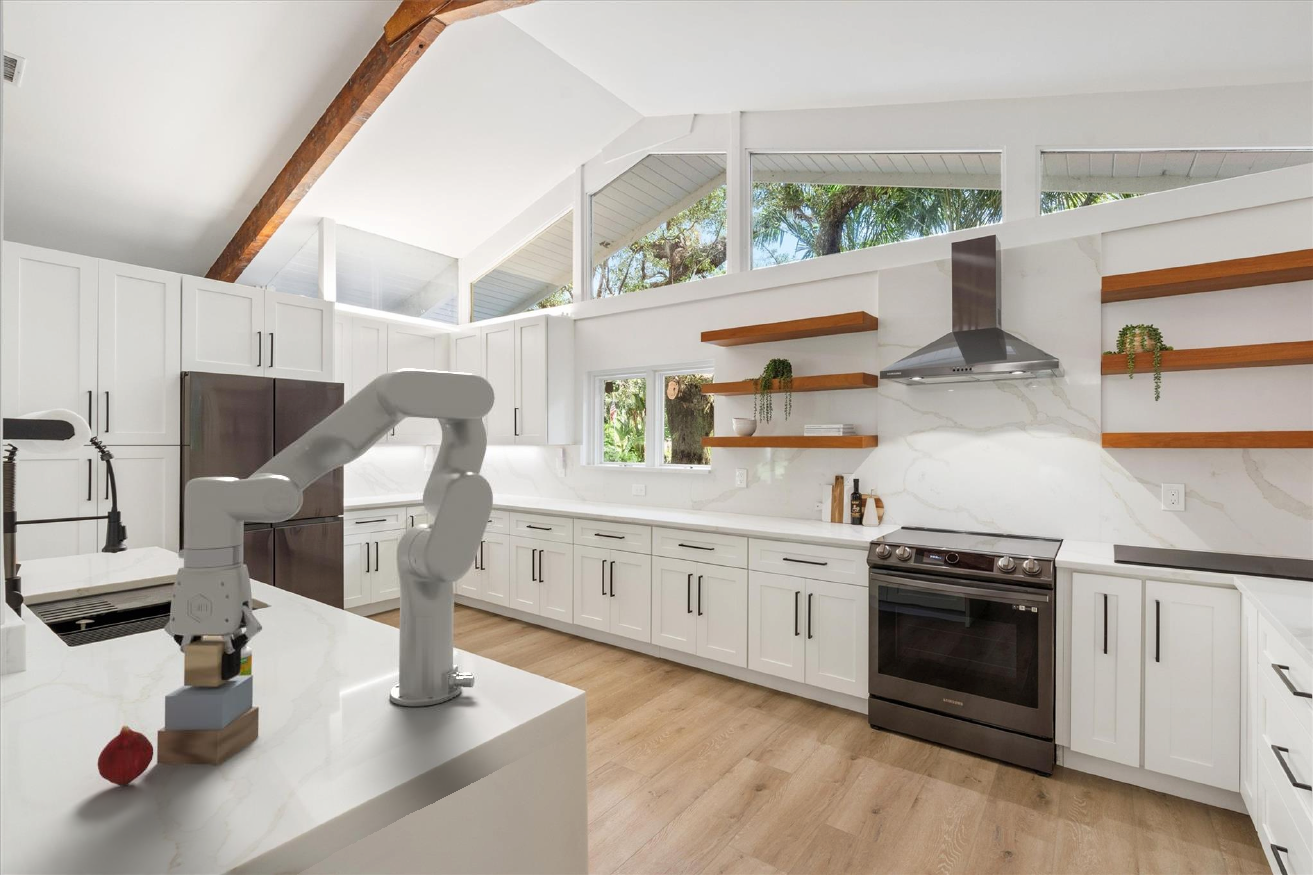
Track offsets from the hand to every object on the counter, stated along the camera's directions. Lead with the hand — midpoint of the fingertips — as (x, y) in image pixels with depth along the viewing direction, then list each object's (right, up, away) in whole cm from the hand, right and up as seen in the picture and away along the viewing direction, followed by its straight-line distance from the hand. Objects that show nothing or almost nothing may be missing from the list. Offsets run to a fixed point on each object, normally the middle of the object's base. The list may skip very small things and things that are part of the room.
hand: (212, 675), depth 98 cm
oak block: (0, -1, 0) cm, 1 cm away
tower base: (0, -11, 0) cm, 11 cm away
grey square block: (0, -6, 0) cm, 6 cm away
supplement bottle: (-12, -12, +23) cm, 29 cm away
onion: (-4, -11, -11) cm, 16 cm away
